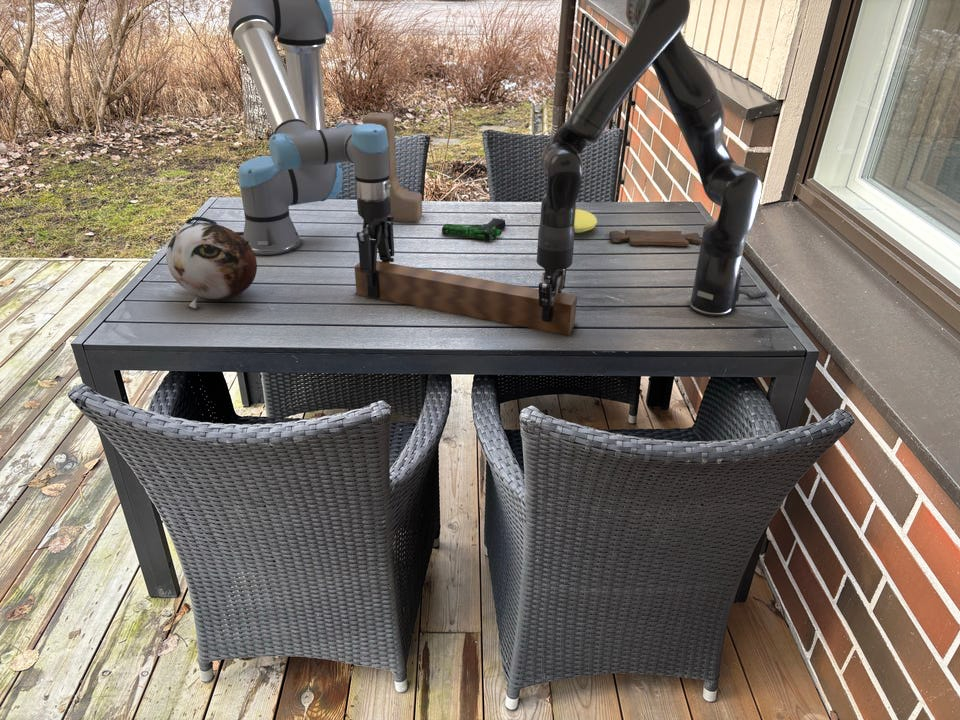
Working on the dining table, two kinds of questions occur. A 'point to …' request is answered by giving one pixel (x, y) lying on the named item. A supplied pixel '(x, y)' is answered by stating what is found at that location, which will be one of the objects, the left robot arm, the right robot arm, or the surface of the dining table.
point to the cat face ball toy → (211, 261)
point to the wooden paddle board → (654, 237)
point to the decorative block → (402, 201)
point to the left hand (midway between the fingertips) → (379, 291)
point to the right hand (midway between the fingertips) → (550, 315)
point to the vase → (584, 221)
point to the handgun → (476, 230)
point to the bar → (469, 296)
